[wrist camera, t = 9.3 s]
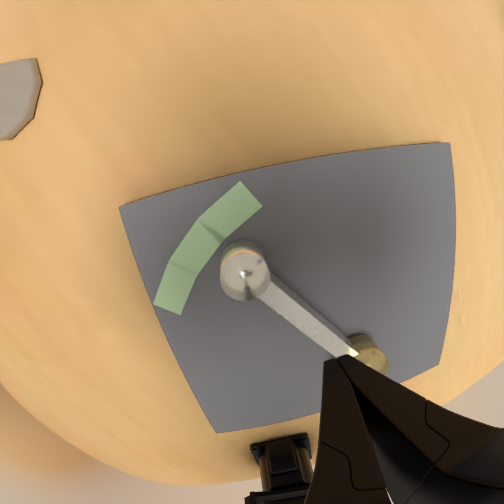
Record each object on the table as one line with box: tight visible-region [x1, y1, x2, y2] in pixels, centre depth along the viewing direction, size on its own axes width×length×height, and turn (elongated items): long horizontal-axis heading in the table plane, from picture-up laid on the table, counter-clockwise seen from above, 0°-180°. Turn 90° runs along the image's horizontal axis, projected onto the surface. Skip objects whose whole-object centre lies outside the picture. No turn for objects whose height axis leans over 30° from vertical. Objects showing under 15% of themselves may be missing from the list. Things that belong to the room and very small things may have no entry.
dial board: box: [119, 143, 456, 433], centre depth 20 cm, size 22×24×1 cm
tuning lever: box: [220, 240, 389, 376], centre depth 18 cm, size 15×4×3 cm, turn 47°
